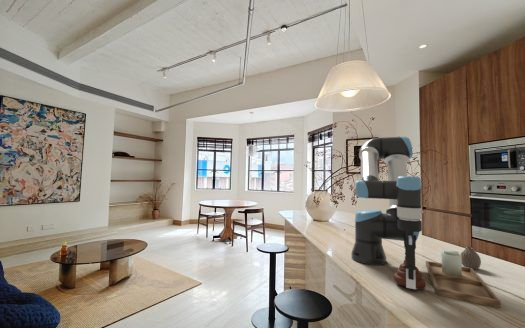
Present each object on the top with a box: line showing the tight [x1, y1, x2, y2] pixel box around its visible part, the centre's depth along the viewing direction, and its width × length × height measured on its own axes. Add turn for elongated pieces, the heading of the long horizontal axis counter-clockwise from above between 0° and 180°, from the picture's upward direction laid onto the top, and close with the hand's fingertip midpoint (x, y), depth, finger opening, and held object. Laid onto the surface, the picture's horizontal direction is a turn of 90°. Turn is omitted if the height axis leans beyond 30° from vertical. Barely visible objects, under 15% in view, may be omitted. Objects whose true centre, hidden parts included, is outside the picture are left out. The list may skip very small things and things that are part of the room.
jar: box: [440, 248, 463, 277], centre depth 95 cm, size 6×6×9 cm
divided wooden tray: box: [425, 260, 502, 309], centre depth 88 cm, size 16×31×2 cm, turn 150°
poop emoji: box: [392, 256, 427, 290], centre depth 85 cm, size 10×8×9 cm
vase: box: [460, 246, 482, 271], centre depth 104 cm, size 7×7×9 cm
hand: (410, 282), depth 84 cm, fingers closed on poop emoji, 9 cm apart
